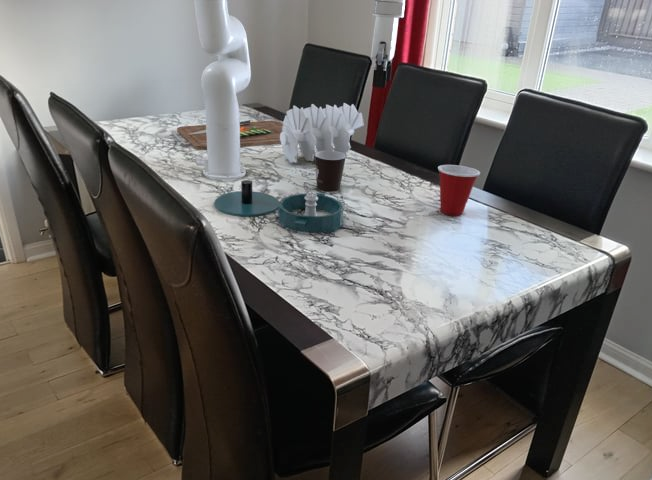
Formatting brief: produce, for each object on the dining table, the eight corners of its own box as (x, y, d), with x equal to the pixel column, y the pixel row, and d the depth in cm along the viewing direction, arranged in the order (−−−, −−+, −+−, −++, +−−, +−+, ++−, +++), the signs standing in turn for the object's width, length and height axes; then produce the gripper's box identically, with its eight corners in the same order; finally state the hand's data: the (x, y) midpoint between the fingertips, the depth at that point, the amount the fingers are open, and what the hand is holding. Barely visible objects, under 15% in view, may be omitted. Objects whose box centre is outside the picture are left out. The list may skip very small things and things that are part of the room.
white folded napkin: (277, 171, 189) (343, 160, 199) (299, 163, 173) (369, 151, 183) (265, 115, 186) (332, 106, 196) (287, 101, 170) (358, 92, 181)
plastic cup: (474, 208, 157) (482, 165, 151) (469, 222, 148) (478, 177, 142) (434, 201, 160) (441, 159, 154) (427, 215, 151) (434, 170, 145)
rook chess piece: (305, 230, 137) (307, 198, 133) (297, 223, 141) (298, 192, 137) (322, 227, 139) (324, 196, 135) (313, 220, 143) (315, 190, 139)
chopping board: (188, 151, 189) (188, 142, 188) (168, 131, 210) (167, 122, 208) (311, 140, 208) (311, 132, 207) (281, 123, 229) (281, 115, 227)
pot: (267, 233, 136) (267, 215, 133) (291, 203, 154) (292, 187, 151) (331, 243, 133) (332, 225, 131) (348, 211, 151) (350, 194, 149)
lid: (204, 213, 144) (203, 188, 141) (228, 192, 158) (228, 168, 155) (267, 222, 141) (267, 196, 138) (286, 200, 155) (287, 176, 152)
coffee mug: (340, 196, 160) (343, 161, 155) (310, 192, 161) (311, 157, 156) (347, 183, 170) (349, 149, 165) (318, 179, 171) (320, 146, 166)
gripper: (378, 6, 146) (371, 77, 155) (367, 10, 132) (361, 88, 140) (407, 8, 145) (399, 80, 153) (400, 13, 130) (392, 91, 139)
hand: (381, 84), depth 147 cm, fingers open, 9 cm apart
